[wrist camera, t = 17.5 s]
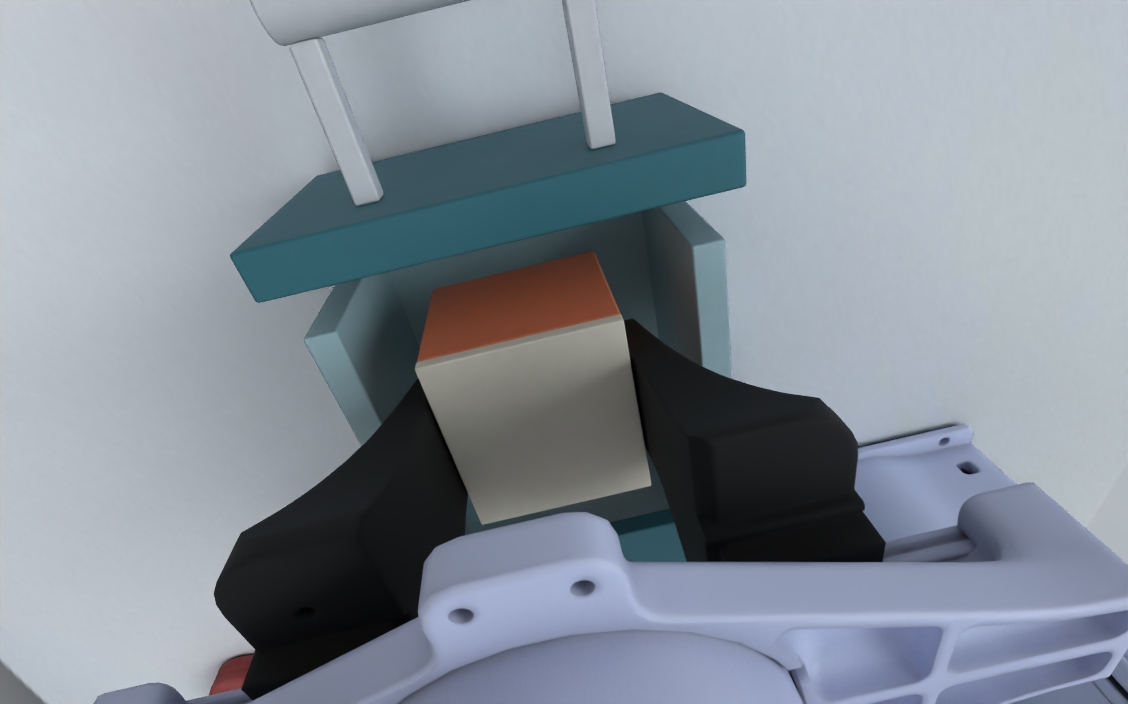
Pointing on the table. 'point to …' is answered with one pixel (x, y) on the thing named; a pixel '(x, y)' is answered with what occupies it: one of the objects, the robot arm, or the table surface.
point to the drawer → (494, 222)
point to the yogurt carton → (534, 388)
